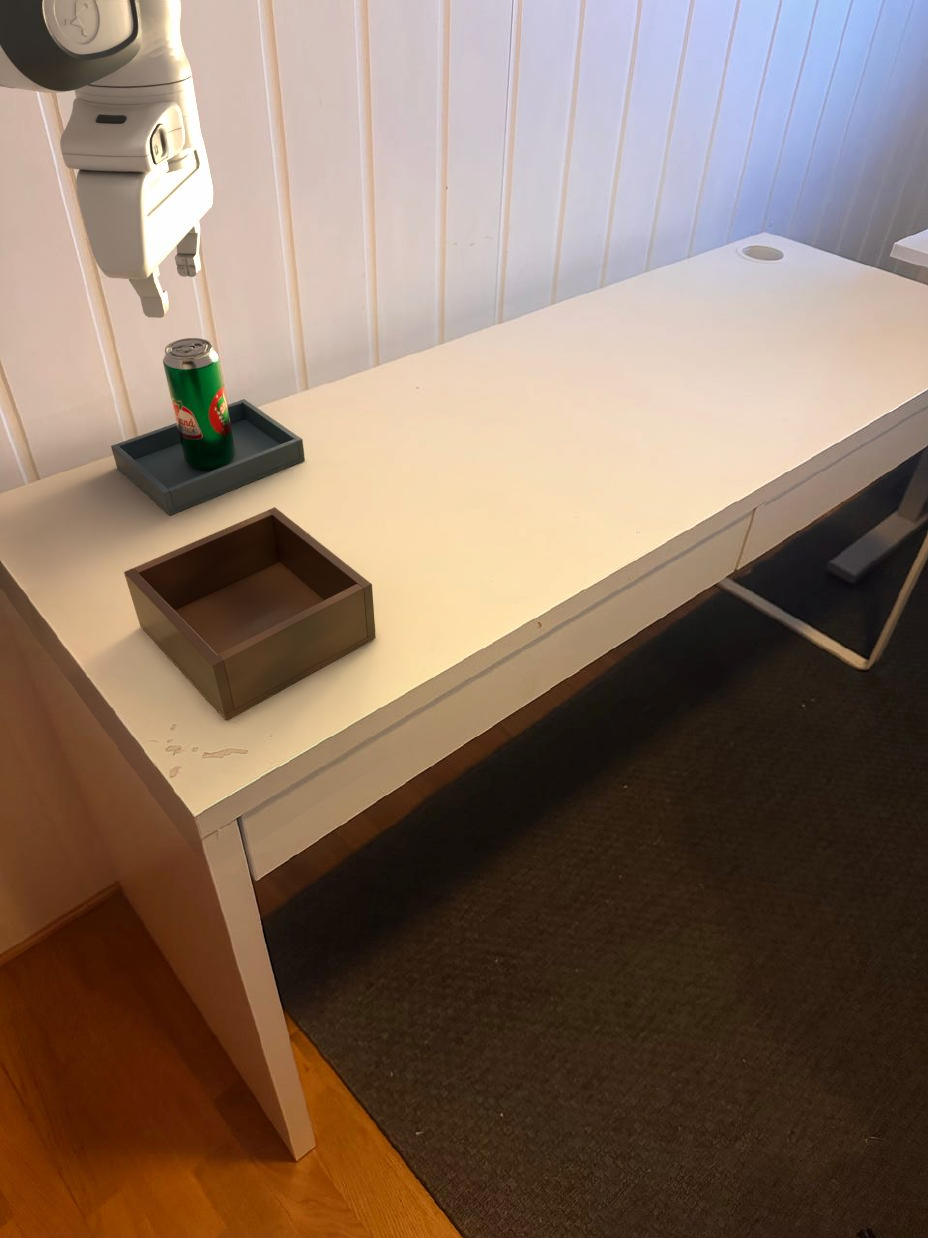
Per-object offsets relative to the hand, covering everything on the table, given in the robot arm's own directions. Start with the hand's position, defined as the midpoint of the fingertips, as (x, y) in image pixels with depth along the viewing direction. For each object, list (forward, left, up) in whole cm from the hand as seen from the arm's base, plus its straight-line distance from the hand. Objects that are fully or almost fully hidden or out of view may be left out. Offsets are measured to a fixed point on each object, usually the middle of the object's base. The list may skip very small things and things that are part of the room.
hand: (174, 293), depth 79 cm
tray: (0, 0, -18) cm, 18 cm away
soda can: (0, 0, -17) cm, 17 cm away
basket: (-10, -25, -18) cm, 32 cm away
